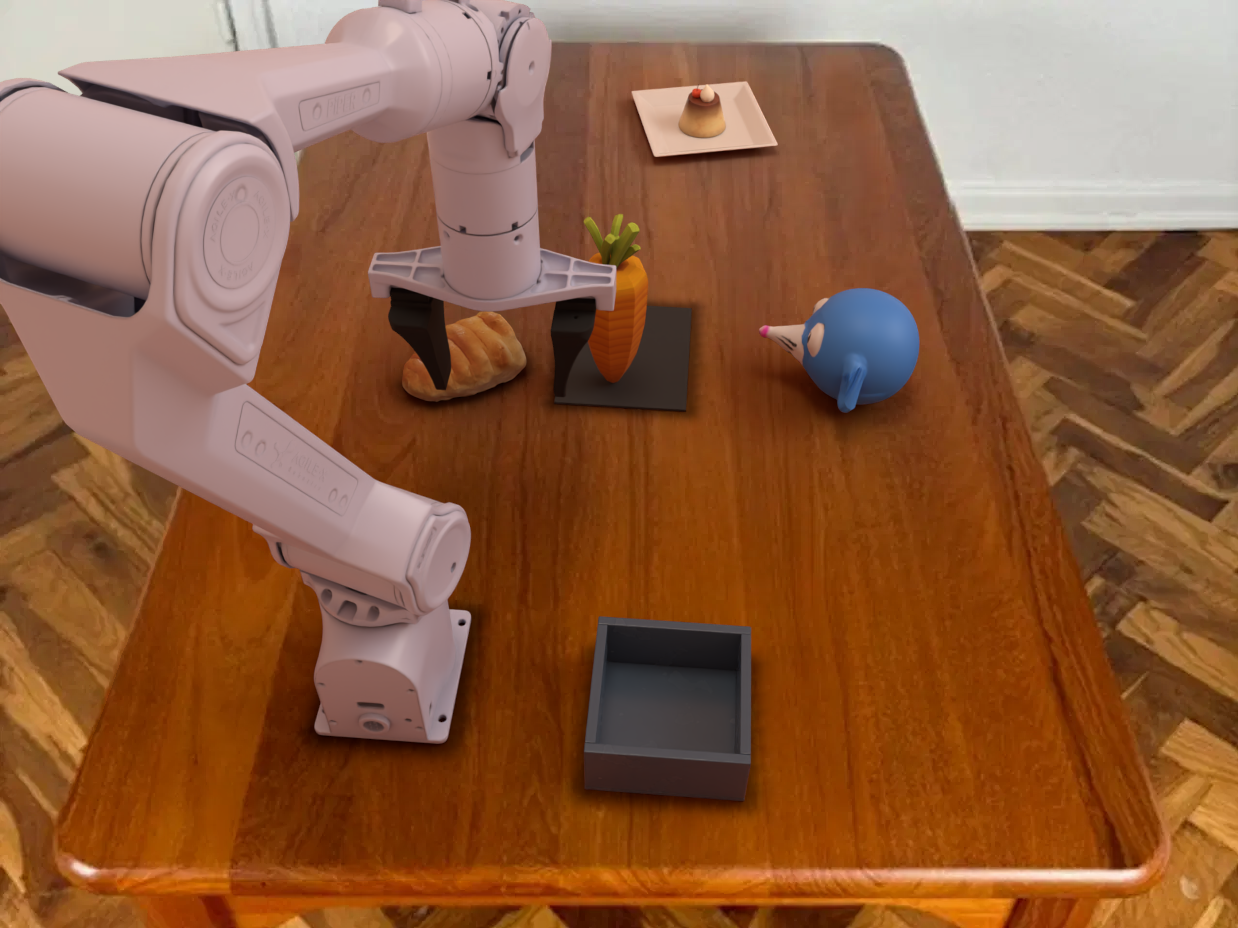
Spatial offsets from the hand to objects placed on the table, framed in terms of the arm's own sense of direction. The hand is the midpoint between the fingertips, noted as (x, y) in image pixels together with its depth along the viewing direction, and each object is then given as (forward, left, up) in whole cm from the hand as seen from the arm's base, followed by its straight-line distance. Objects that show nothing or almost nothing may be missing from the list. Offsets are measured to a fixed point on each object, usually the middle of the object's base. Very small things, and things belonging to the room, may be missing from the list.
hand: (502, 383), depth 77 cm
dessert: (+49, -12, -11) cm, 52 cm away
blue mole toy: (+13, -23, -11) cm, 28 cm away
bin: (-18, -12, -10) cm, 24 cm away
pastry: (+12, +5, -11) cm, 17 cm away
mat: (+15, -7, -10) cm, 20 cm away
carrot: (+12, -6, -10) cm, 17 cm away
